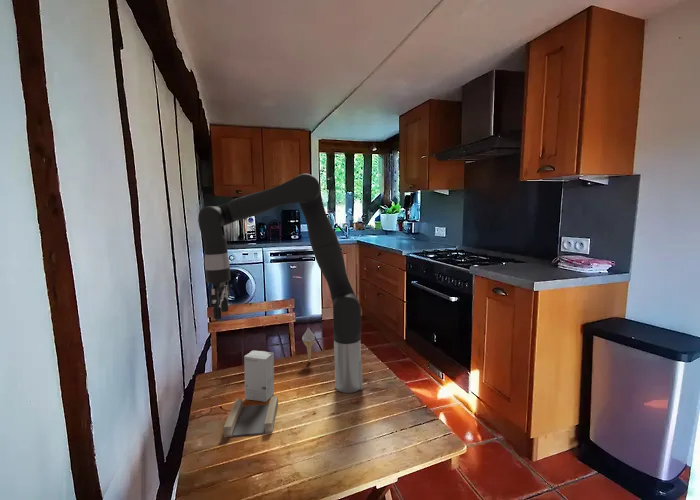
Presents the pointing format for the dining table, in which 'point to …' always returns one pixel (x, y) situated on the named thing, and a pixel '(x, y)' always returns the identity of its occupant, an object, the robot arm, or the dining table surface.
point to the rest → (251, 418)
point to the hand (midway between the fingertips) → (221, 315)
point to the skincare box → (259, 375)
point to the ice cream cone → (308, 341)
